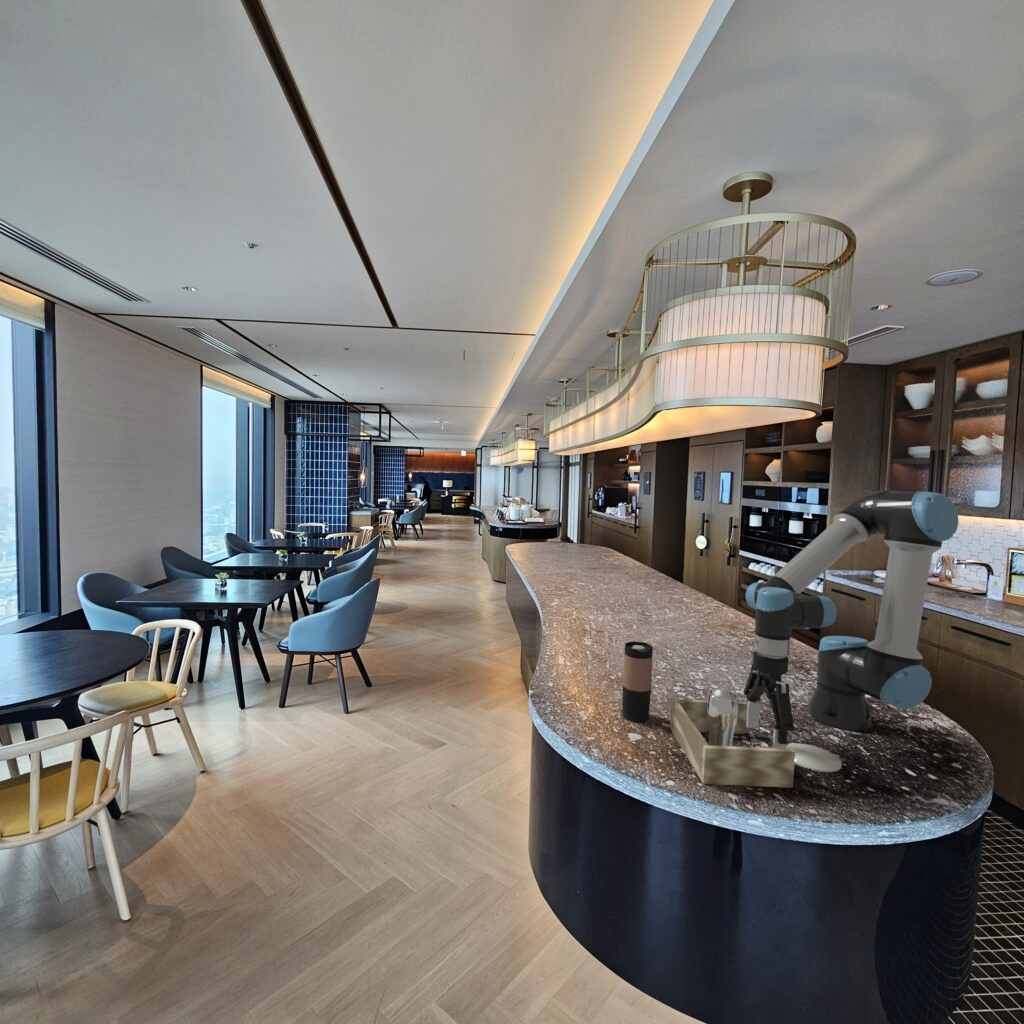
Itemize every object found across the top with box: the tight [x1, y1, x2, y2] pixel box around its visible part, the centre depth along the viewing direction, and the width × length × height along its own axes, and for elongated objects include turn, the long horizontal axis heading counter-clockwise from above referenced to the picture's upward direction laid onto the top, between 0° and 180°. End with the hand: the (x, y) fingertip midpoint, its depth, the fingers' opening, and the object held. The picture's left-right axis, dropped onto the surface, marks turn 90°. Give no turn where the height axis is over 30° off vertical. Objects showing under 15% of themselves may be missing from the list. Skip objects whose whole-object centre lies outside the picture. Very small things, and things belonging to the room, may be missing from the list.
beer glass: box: [706, 688, 739, 746], centre depth 126 cm, size 7×7×15 cm
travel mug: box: [621, 641, 654, 723], centre depth 145 cm, size 8×8×20 cm
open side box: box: [669, 698, 795, 788], centre depth 126 cm, size 19×25×8 cm
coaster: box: [786, 743, 843, 774], centre depth 126 cm, size 12×12×1 cm
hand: (764, 740), depth 126 cm, fingers open, 13 cm apart
